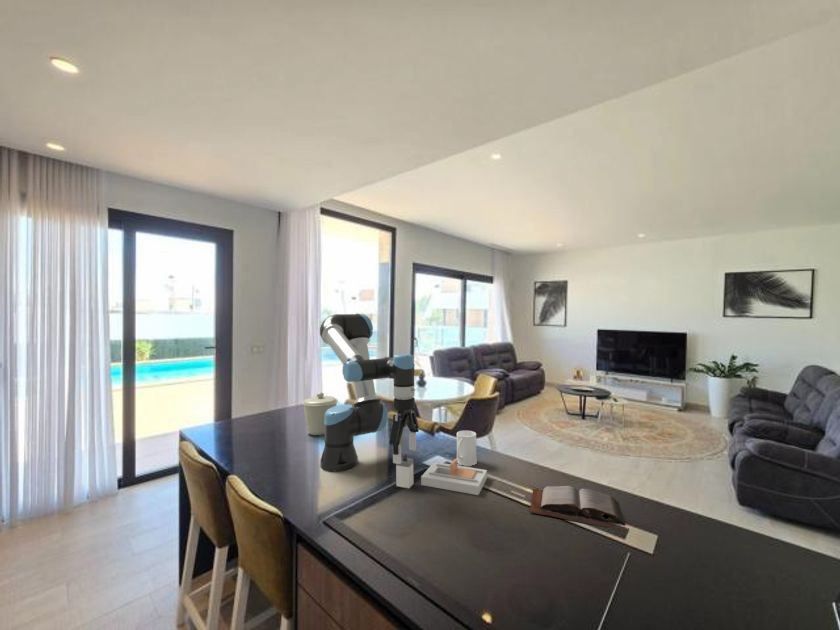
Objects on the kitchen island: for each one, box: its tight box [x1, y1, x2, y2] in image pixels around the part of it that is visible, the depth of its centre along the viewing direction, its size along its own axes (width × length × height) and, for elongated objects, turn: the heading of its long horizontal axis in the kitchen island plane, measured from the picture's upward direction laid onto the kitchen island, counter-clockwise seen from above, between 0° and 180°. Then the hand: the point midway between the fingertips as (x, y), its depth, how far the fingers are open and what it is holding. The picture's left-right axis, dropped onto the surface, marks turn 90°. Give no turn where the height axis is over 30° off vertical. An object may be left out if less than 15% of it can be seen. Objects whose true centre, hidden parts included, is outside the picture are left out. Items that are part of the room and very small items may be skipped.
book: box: [529, 485, 626, 531], centre depth 118 cm, size 20×28×4 cm
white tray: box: [420, 461, 488, 496], centre depth 136 cm, size 21×14×4 cm, turn 68°
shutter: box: [449, 458, 476, 479], centre depth 134 cm, size 8×7×4 cm
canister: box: [301, 391, 339, 436], centre depth 193 cm, size 18×18×21 cm
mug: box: [456, 430, 478, 467], centre depth 152 cm, size 12×8×12 cm
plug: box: [395, 453, 414, 489], centre depth 133 cm, size 5×4×11 cm
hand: (405, 456), depth 133 cm, fingers open, 13 cm apart
